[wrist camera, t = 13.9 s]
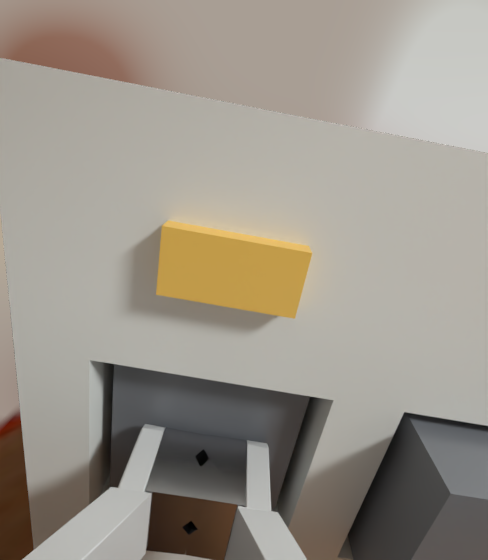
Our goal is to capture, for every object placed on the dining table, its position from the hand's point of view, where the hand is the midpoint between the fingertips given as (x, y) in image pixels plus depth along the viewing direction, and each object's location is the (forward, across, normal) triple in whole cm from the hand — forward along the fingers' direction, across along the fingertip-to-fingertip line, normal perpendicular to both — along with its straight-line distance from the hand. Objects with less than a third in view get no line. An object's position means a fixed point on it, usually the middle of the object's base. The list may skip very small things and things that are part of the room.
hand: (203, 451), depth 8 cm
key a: (+2, 0, +2) cm, 3 cm away
